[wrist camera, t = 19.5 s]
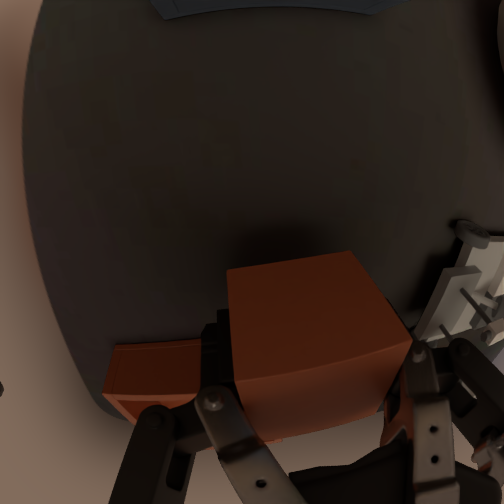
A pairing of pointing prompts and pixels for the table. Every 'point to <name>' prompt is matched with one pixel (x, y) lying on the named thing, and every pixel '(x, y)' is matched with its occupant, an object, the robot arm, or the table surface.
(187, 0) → the blue bin
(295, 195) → the table surface
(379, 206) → the table surface
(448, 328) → the toy car
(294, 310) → the block
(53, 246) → the table surface
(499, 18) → the vase
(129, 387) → the terracotta bin
